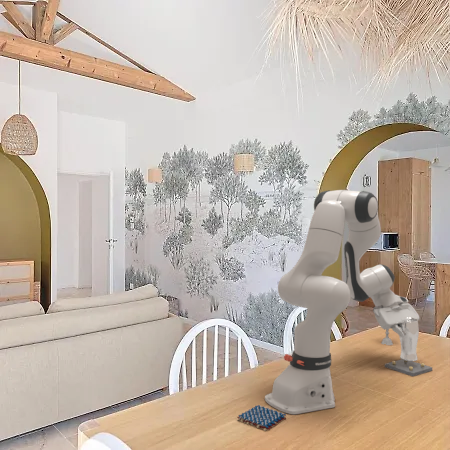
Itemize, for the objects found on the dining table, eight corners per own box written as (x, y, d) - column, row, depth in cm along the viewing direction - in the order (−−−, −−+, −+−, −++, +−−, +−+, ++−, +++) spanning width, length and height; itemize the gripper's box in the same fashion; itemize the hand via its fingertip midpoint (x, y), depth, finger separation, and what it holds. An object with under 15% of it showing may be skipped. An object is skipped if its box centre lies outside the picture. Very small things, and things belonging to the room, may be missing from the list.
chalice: (377, 344, 199) (378, 304, 199) (379, 340, 205) (380, 302, 205) (394, 346, 196) (395, 306, 196) (396, 342, 202) (397, 303, 202)
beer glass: (415, 355, 170) (414, 317, 170) (421, 361, 163) (421, 321, 163) (396, 355, 171) (396, 317, 170) (402, 361, 164) (401, 321, 163)
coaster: (412, 376, 158) (412, 369, 158) (384, 367, 169) (384, 360, 169) (432, 370, 165) (432, 364, 165) (404, 361, 175) (404, 355, 175)
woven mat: (257, 409, 131) (257, 403, 131) (287, 420, 125) (287, 413, 125) (235, 422, 123) (235, 415, 123) (266, 434, 116) (266, 426, 116)
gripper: (375, 302, 167) (398, 334, 159) (409, 297, 178) (431, 326, 170) (366, 312, 170) (387, 343, 162) (399, 306, 181) (420, 335, 173)
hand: (410, 334), depth 166 cm, fingers closed on beer glass, 7 cm apart
